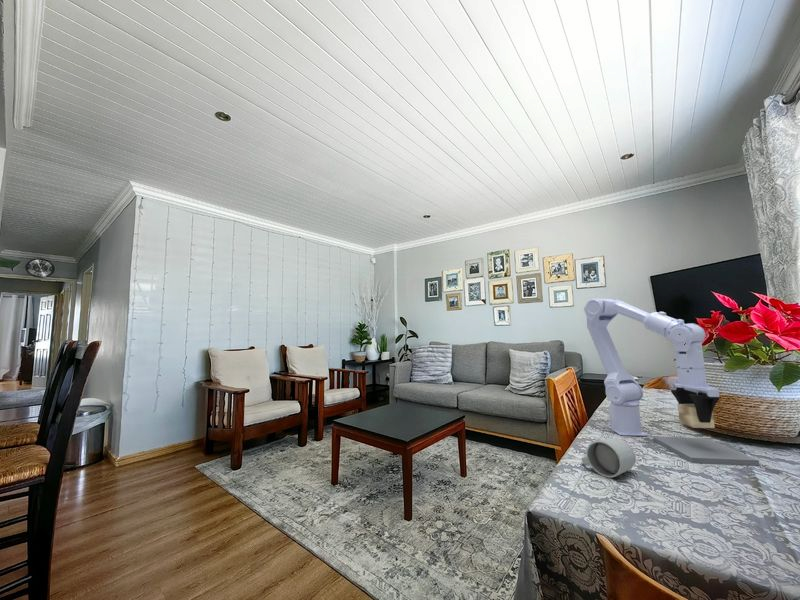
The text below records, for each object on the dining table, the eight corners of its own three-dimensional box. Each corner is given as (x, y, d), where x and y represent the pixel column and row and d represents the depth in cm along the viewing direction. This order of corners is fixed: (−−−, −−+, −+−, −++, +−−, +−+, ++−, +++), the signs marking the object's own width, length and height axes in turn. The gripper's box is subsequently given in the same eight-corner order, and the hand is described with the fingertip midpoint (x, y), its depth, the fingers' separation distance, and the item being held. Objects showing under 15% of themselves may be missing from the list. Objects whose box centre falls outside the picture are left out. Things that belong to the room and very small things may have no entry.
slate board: (653, 441, 94) (652, 436, 94) (708, 442, 91) (707, 438, 92) (691, 462, 78) (691, 457, 78) (759, 465, 76) (758, 460, 76)
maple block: (679, 422, 88) (677, 403, 89) (699, 422, 88) (697, 403, 88) (693, 427, 84) (690, 408, 84) (714, 427, 83) (712, 408, 83)
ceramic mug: (640, 473, 73) (635, 438, 74) (623, 483, 69) (618, 446, 70) (592, 459, 82) (589, 428, 83) (574, 467, 78) (571, 434, 79)
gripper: (657, 365, 95) (662, 412, 93) (694, 371, 81) (700, 427, 79) (683, 365, 94) (689, 412, 92) (725, 371, 80) (733, 427, 78)
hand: (696, 419), depth 86 cm, fingers closed on maple block, 5 cm apart
